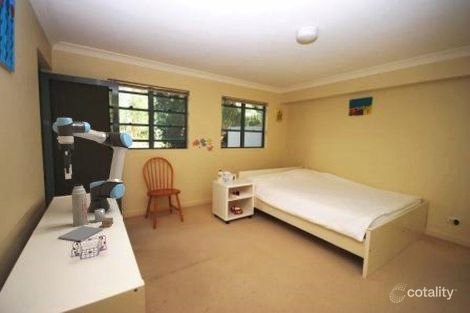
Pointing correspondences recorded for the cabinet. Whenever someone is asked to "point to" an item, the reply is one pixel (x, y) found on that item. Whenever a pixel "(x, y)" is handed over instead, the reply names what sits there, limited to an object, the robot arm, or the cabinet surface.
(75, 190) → the thermos bottle
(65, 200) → the cabinet surface
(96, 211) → the grey rounded cylinder
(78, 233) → the gray mat
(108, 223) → the walnut block
